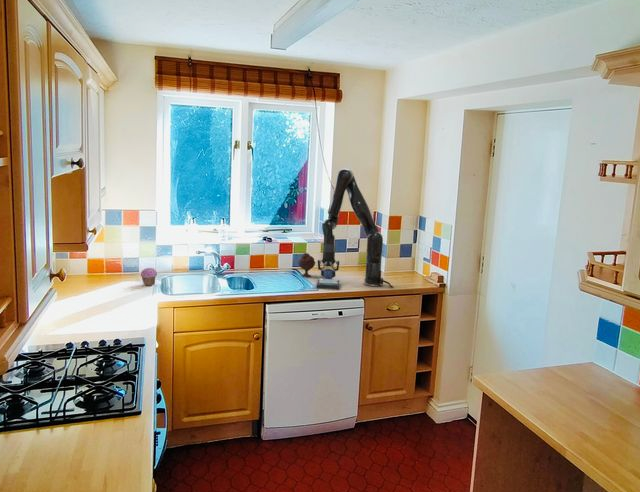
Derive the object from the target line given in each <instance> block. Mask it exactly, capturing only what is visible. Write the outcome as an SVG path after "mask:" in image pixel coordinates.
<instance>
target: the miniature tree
mask: <svg viewBox="0 0 640 492" xmlns="http://www.w3.org/2000/svg"><path fill="white" fill-rule="evenodd" d="M297 263H298V266H299V268H301V269H302V270H304V273H303V274H302V275H301V277H303V278H311V274H309V271H310V270H312V269H313V268H314V267H315V265H316V261H315V258H314V257H313V256H311V255H310V253H308V252H304V253H302V255H301V257H300V259H299V260H298V261H297Z"/></svg>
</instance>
